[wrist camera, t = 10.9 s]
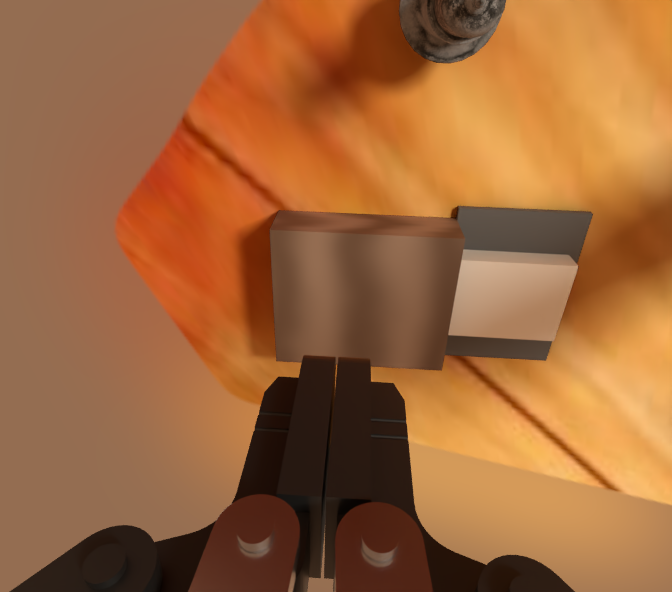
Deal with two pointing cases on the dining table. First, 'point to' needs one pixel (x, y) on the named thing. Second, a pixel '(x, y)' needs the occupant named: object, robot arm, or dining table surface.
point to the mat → (517, 236)
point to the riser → (364, 286)
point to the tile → (511, 294)
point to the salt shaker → (449, 26)
